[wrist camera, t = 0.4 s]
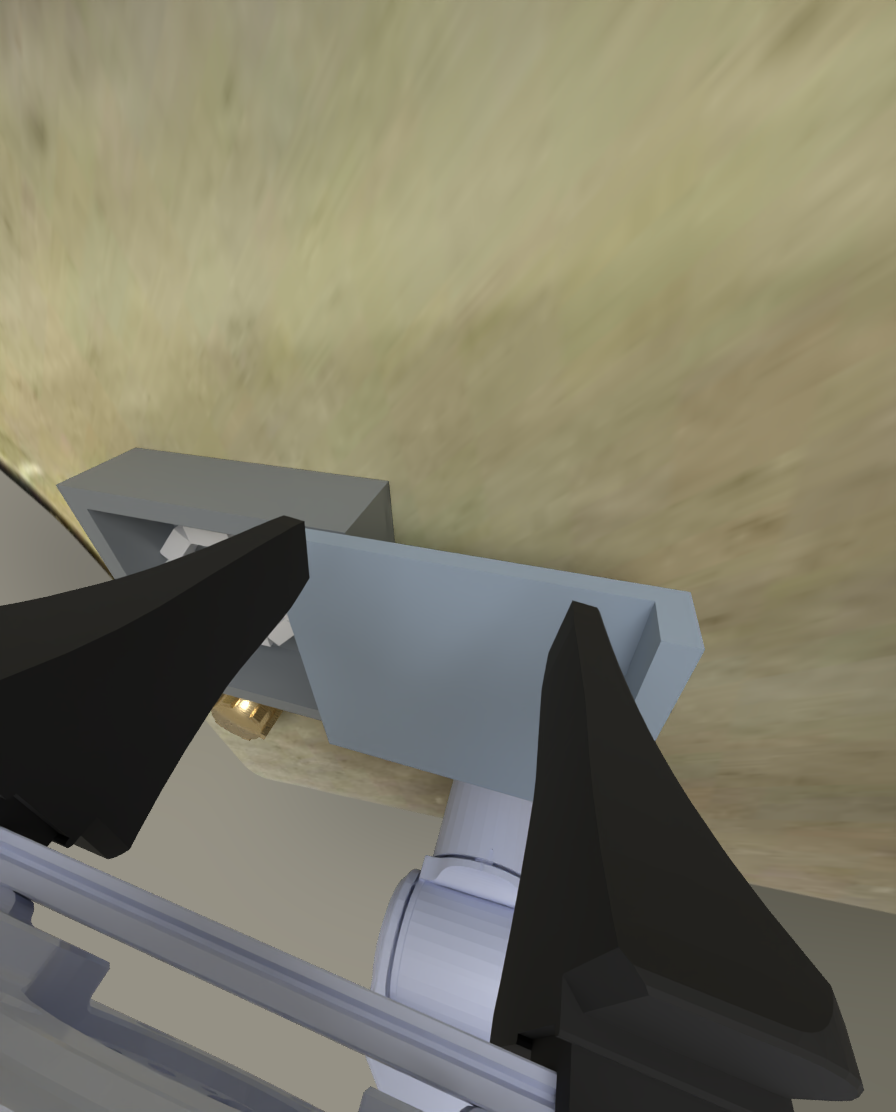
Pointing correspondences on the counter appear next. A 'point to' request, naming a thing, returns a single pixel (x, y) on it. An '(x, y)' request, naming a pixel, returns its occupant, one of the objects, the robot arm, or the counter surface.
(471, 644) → the lid
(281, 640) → the housing
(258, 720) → the ribbed brass cylinder
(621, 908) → the robot arm
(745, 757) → the counter surface
